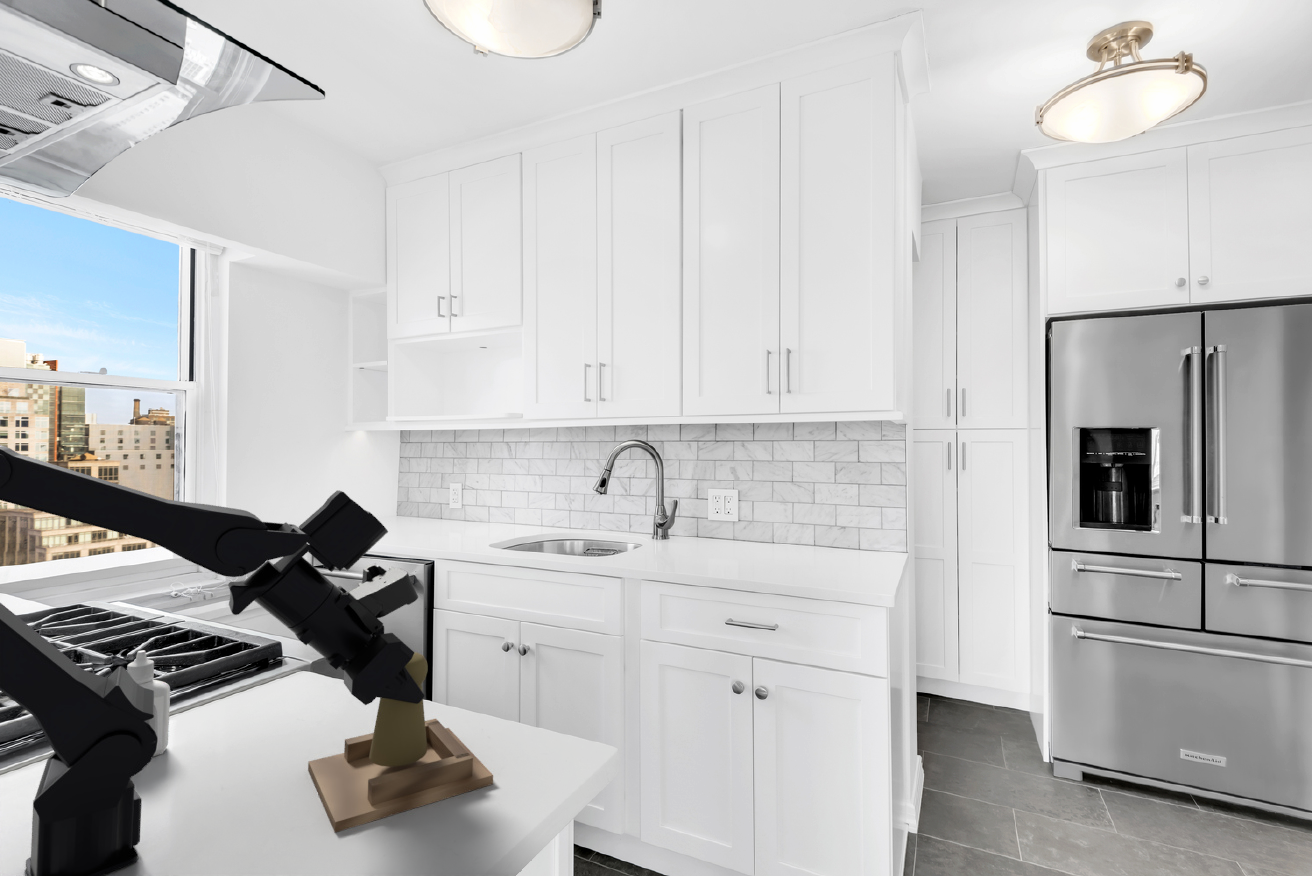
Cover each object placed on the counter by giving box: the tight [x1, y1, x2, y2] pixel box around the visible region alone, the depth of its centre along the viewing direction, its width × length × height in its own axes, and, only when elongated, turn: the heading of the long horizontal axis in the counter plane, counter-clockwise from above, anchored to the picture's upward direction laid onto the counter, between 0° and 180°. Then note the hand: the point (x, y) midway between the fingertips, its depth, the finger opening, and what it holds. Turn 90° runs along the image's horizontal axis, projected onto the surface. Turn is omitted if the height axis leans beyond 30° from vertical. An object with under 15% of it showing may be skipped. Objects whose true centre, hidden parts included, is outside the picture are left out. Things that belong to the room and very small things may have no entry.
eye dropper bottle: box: [126, 650, 171, 757], centre depth 75 cm, size 4×6×12 cm
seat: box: [307, 718, 494, 833], centre depth 73 cm, size 16×14×3 cm
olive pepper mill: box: [369, 651, 428, 767], centre depth 73 cm, size 6×6×11 cm
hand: (413, 691), depth 73 cm, fingers closed on olive pepper mill, 5 cm apart
